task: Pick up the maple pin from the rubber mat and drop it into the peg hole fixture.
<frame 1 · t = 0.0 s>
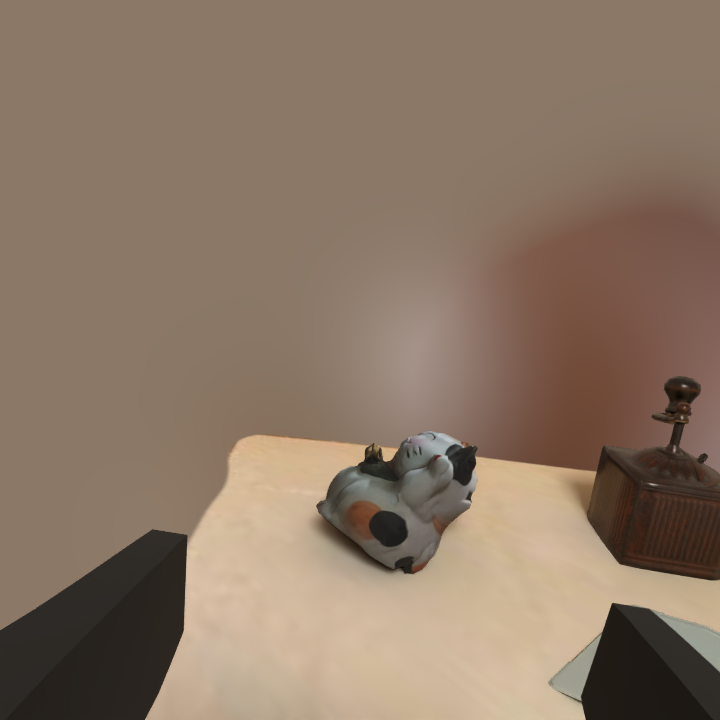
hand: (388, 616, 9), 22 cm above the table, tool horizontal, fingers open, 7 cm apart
brown coffee grinder: (639, 536, 60), on the table
lucky cat figurine: (388, 538, 53), on the table
metal bracket: (678, 702, 37), on the table
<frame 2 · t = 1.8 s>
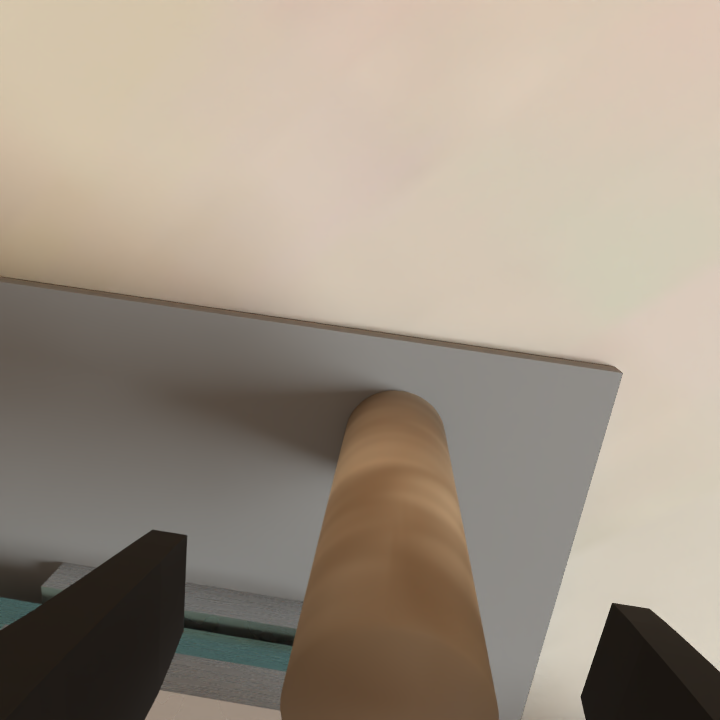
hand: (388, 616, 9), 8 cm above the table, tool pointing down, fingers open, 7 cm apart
peg hole fixture: (193, 670, 20), resting on rubber mat
rubber mat: (225, 587, 19), on the table
maple pin: (394, 437, 16), point 1 cm above the table, touching rubber mat
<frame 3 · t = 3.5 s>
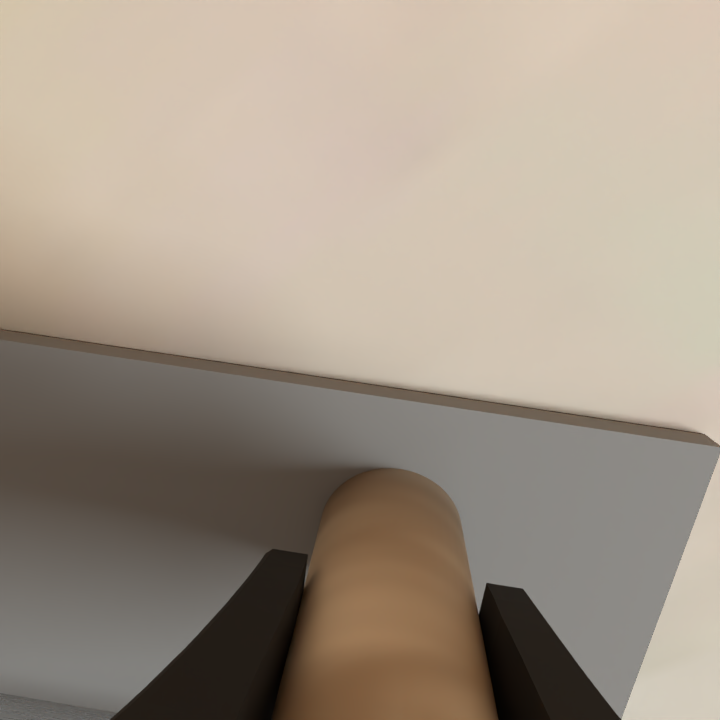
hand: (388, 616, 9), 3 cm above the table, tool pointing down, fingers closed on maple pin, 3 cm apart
rubber mat: (165, 712, 14), on the table
maple pin: (390, 531, 11), point 1 cm above the table, touching gripper, rubber mat
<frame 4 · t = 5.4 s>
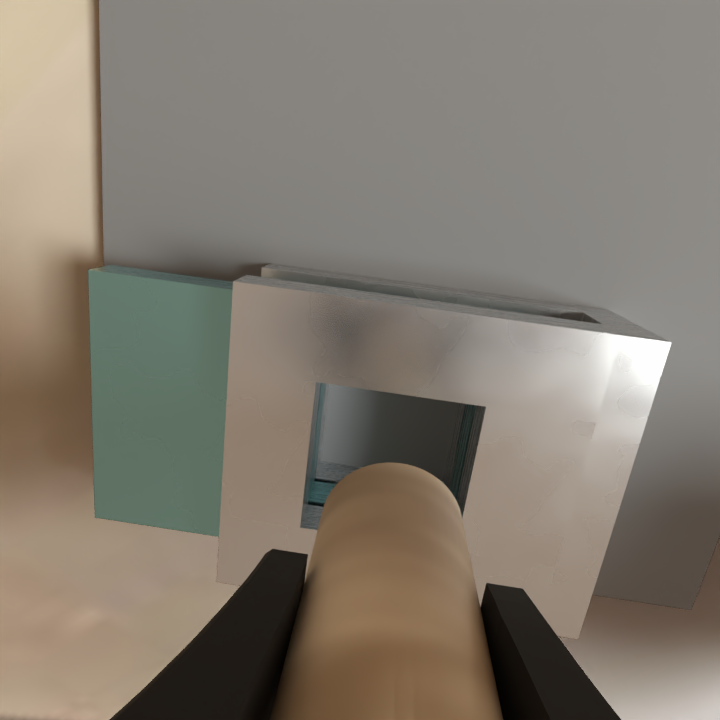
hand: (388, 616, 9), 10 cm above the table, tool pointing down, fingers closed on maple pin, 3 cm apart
peg hole fixture: (391, 406, 19), resting on rubber mat
rubber mat: (438, 298, 17), on the table
maple pin: (391, 526, 11), point 8 cm above the table, touching gripper
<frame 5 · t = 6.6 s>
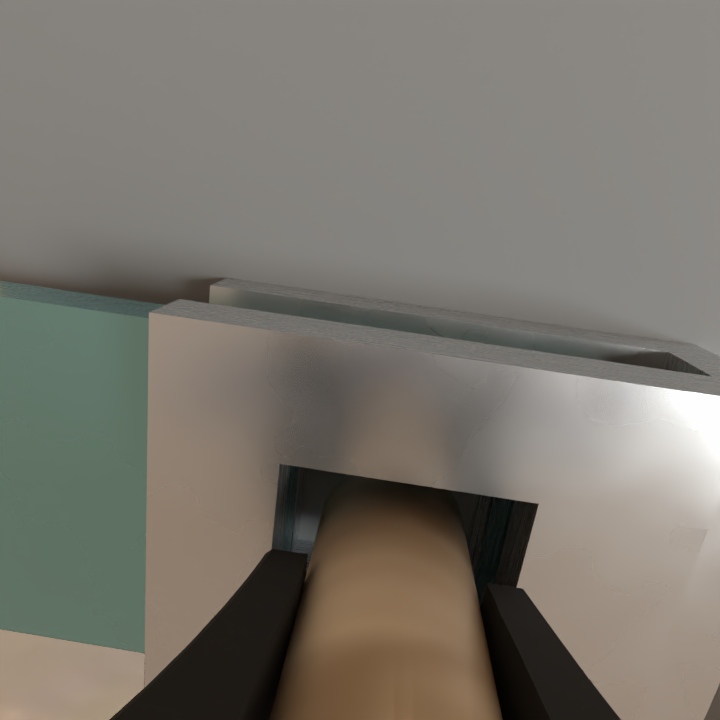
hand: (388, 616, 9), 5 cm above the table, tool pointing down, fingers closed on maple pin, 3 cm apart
peg hole fixture: (392, 467, 14), resting on rubber mat
rubber mat: (458, 326, 13), on the table
maple pin: (391, 526, 11), point 3 cm above the table, touching gripper
when the fingers open (5 cm above the table, at t = 7.3 s): maple pin drops 2 cm, resting on rubber mat.
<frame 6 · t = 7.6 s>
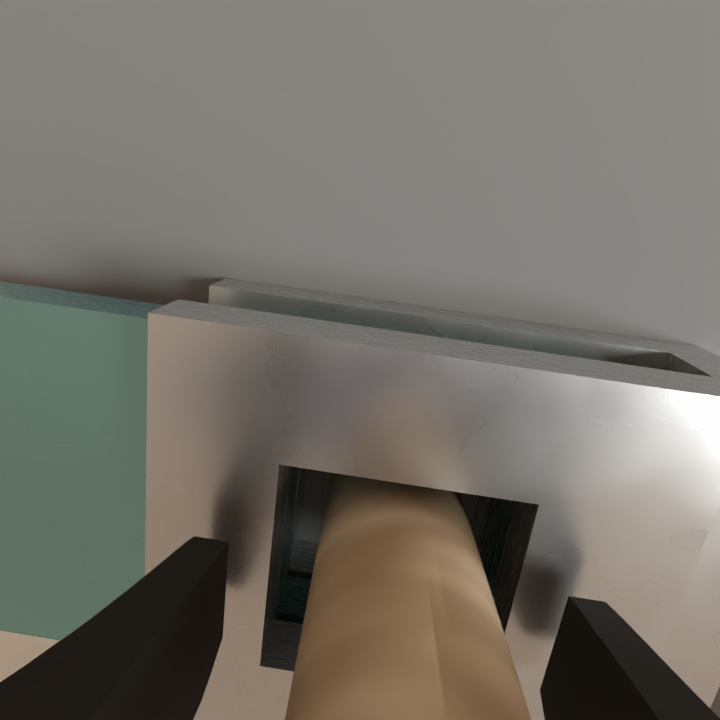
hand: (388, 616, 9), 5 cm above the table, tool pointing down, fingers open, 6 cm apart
peg hole fixture: (392, 467, 14), resting on rubber mat
rubber mat: (458, 327, 13), on the table
maple pin: (391, 477, 13), point 1 cm above the table, touching rubber mat
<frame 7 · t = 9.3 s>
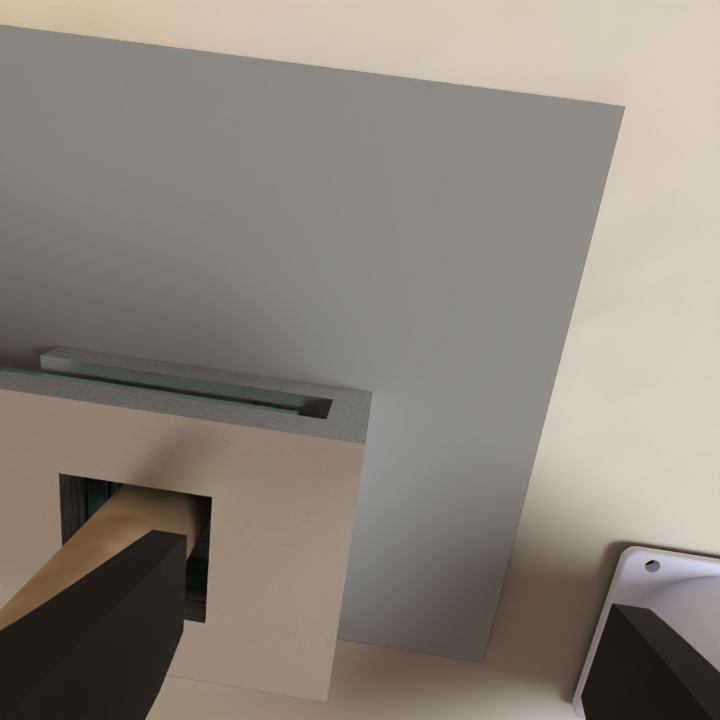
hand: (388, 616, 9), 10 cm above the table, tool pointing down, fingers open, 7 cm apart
peg hole fixture: (193, 473, 20), resting on rubber mat
rubber mat: (225, 377, 19), on the table
maple pin: (187, 478, 19), point 1 cm above the table, touching rubber mat
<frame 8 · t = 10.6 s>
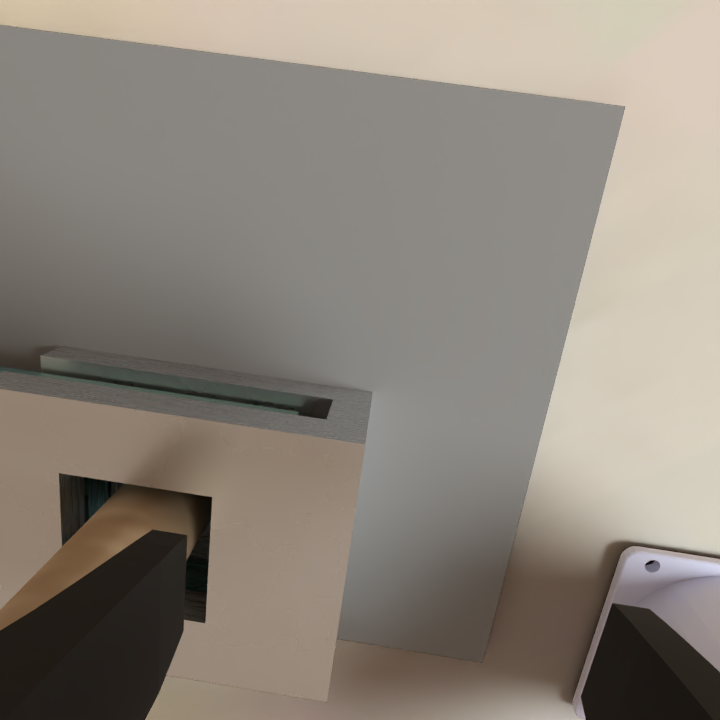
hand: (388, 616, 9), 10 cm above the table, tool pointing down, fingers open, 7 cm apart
peg hole fixture: (193, 473, 20), resting on rubber mat
rubber mat: (225, 377, 19), on the table
maple pin: (187, 478, 19), point 1 cm above the table, touching rubber mat
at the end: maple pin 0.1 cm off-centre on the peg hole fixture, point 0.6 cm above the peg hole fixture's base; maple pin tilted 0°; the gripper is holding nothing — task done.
